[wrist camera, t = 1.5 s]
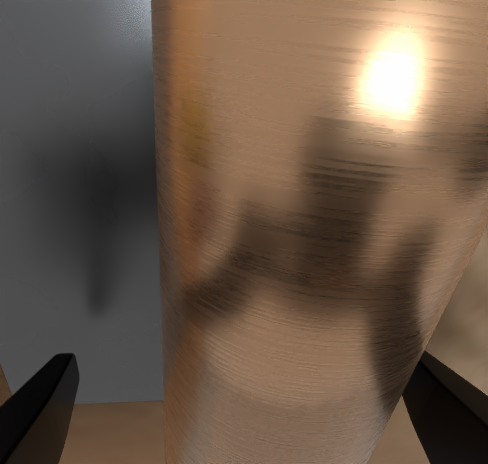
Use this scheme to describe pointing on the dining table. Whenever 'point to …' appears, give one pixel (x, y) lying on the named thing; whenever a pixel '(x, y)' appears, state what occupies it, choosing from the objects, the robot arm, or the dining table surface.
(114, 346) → the plate
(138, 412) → the dining table surface
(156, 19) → the tube
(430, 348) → the dining table surface
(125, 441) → the dining table surface
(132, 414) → the dining table surface
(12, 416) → the robot arm
